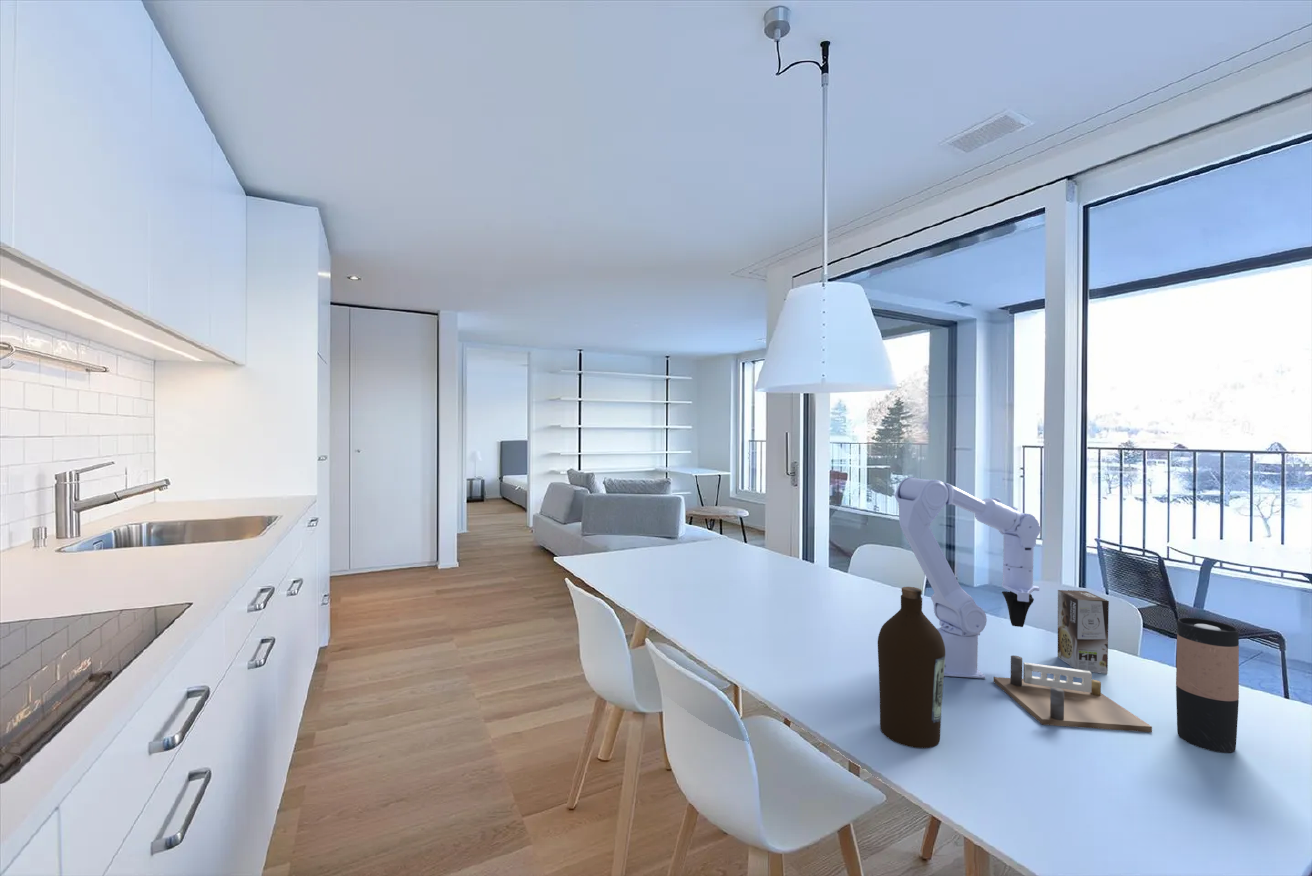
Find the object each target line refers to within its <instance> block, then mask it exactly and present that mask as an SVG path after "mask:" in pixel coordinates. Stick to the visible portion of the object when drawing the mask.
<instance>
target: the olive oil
mask: <svg viewBox="0 0 1312 876" xmlns="http://www.w3.org/2000/svg"><path fill="white" fill-rule="evenodd" d="M922 595H923V590H922V589H920V588H919V587H913V586H903V587H901V595H900V609H899V610H898V611H897V612H895V614H894V615H892V616H891V617H890V618H889V619H888V620H886V621H885V622H884V623H883V625H881V628H880V629H879V633H878V636H877V656H878V657H877V658H878V660H877V661H878V684H879V685H878V686H879V687H878V688H879V690H878V691H879V727H880V728H879V729H880V731H881V733H882V734H883V735H884V736H885V737H886V738H888V739H889V740H890V741H892V742H894V743H897V744H899V745H902V746H906V747H910V748H915V749H930V748H934V747H936V746H937V745H938V744H940V739H941V727H942V726H941V725H942V724H941V723H942V722H941V721H942V708H943V707H942V705H943V693H944V677H945V676H944V667H945V645H944V642H943V639H942V636H941V634H940V633H939V631H938V630H937V629H938V628H936V626H935V625H934V624H933V623H932V622H931V621H930V619H928V618H927V616H926V615H925V614H924V613H923V611H922V610H923V597H922Z"/></svg>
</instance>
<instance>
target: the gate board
mask: <svg viewBox="0 0 1312 876" xmlns="http://www.w3.org/2000/svg"><path fill="white" fill-rule="evenodd" d="M994 682H995V683H994ZM993 683H994V684H995V685H996V686H997V687H999V688H1000V689H1001V690H1002V691H1003V690H1004V691H1003V692H1004V693H1006V694H1007V695H1008V696H1009V697H1010V698H1011V697H1012V698H1013V701H1014V702H1016V703H1017V704H1018V705H1019V706H1020V707H1022V708H1023V710H1025V711H1026V712H1027V713H1028V714H1030V716H1032V718H1034V719H1035V720H1036V721H1038V722H1039V723H1040V724H1041V725H1042V726H1043V725H1044V726H1057V727H1071V728H1085V729H1097V730H1098V729H1099V730H1111V731H1113V730H1114V731H1130V732H1138V733H1139V732H1142V733H1153V726H1152V725H1150V724H1149V723H1147V721H1144V720H1143V719H1141V718H1140V717H1139V716H1136V715H1135V714H1134V713H1132V712H1131V711H1129V710H1128V709H1126V708H1124V707H1123V706H1121V705H1120V704H1118V703H1117V702H1115V701H1114V700H1112V699H1111V698H1110V697H1108V696H1106V695H1105V694H1103V693H1102V692H1101V691H1102V682H1101V681H1100V680H1097V679H1092V693H1090V692H1083V691H1076V690H1069V689H1062V688H1056V687H1049V686H1042V685H1035V684H1028V683H1025V682H1024V681H1023V657H1021V656H1019V655H1010V677H999V676H998V677H997V676H994V677H993ZM1078 683H1082V681H1081V682H1080V681H1078ZM1012 698H1011V699H1012Z"/></svg>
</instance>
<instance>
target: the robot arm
mask: <svg viewBox="0 0 1312 876" xmlns="http://www.w3.org/2000/svg"><path fill="white" fill-rule="evenodd" d="M894 498H895V500H896V501H897V503H898V519H899V527H900V529H901V532H902V533H903V535H904V537H905V539H906V541H907V543H908V544H909V546H910V548H911V550H912V552H913V554H914V557H915V558H916V560H917V562H918V563H919V566H920V567H921V570H922V571H923V573H924V575H925V578H926V579H927V581H928V583H929V585H930V586H931V589H932V591H933V592H934V593H933V594H931V597H930V599H931V601H932V603H933V611H934V612H933V613H934V616H935V617H936V619H938V621H939V622H938V623H939V626H940V627H938V628H936V629H937V630H938V631H939V633H940V634H941V636H942V639H943V642H944V645H945V667H944V677H958V678H972V679H973V678H974V679H986V675H985V674H984V673H983V672H982V671H980V670H979V669H978V656H979V655H978V652H979V651H978V648H979V647H978V645H979V643H978V642H979V636H981V632H983V630H984V629H985V627H986V626H987V621H988V619H987V614H986V611H985V610H984V609H983V608H982V607H981V606H979V605H978V604H977V603H976V601H975V600H974V598H973V597H972V596H971V595H970V594H969V593H968V592H966V591H965V590H964V589H963V588H962V586H961V585H960V583H959V581H958V579H957V577H956V575H955V574H954V572H953V569H952V568H951V566H950V563H949V562H948V559H947V558H946V556H945V554H944V552H943V550H942V549H941V546H940V544H939V542H938V540H937V539H936V537H935V534H934V533H933V531H932V529H931V527H930V526H931V523H933V522H934V520H935V519H936V517H937V516H938V515H939V513H940V512H941V511H942V510H943V508H944V507H945V505H946V506H947V505H948V506H949V505H952V506H955V507H958V508H961V509H963V510H966V511H968V512H970V513H973V515H974V517H975V519H976V521H978V522H980V523H981V524H984V525H987V526H988V527H991V528H993V529H995V530H997V531H998V533H1000V534H1001V535H1003V544H1002V545H1003V551H1002V553H1003V555H1002V557H1003V558H1002V560H1003V562H1002V582H1001V587H1002V588H1004V589H1005V590H1003V591H1002V592H1001V593H1002V595H1003V597H1004V601H1005V602H1006V606H1007V610H1008V615H1009V621H1010V624H1011V626H1012V627H1016V628H1019V627H1020V628H1023V627H1024V625H1025V623H1026V617H1027V614H1028V612H1029V608H1030V607H1031V605H1032V604H1033V603H1034V601H1035V599H1034V597H1033V595H1032V593H1033V592H1034V591H1035V592H1039V591H1040V587H1039V586H1038V585H1034V584H1033V583H1034V549H1035V546H1036V545H1037V538H1038V537H1039V535H1040V533H1041V530H1042V527H1041V526H1040V523H1039V521H1038V520H1037V519H1036V517H1035V516H1034V515H1033V514H1031V513H1025V512H1020V511H1019V509H1018V508H1017V507H1015V506H1008V505H1006V504H1004V503H1002V502H1001V501H1002V499H1000V498H997V497H991V498H990V497H986V498H983V499H980V498H978V497H975V496H973V495H972V494H970V493H968V492H966V491H964V490H962V489H960V488H958V487H956V486H954V485H952V484H950V483H947V482H943V481H941V480H939V479H927V478H926V479H925V478H917V477H915V476H908V477H905V478H903V479H902V480H901V481H900V482H899V484H898V486H897V489H896V491H895V494H894ZM1006 590H1008V591H1006Z"/></svg>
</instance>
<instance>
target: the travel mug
mask: <svg viewBox="0 0 1312 876" xmlns="http://www.w3.org/2000/svg"><path fill="white" fill-rule="evenodd" d="M1176 633H1177V634H1176V637H1177V639H1176V665H1175V668H1176V671H1175V694H1176V695H1175V696H1176V697H1175V698H1176V699H1175V700H1176V729H1177V736H1178V738H1180V739H1181V740H1183V741H1184V742H1186V743H1188V744H1190V745H1193V746H1195V747H1197V748H1201V749H1204V750H1207V751H1210V752H1216V753H1221V754H1223V753H1224V754H1229V753H1230V754H1231V753H1234V752H1235V751H1236V748H1237V738H1238V737H1237V734H1238V719H1239V716H1238V715H1239V702H1240V701H1239V698H1240V693H1239V692H1240V690H1239V689H1240V680H1239V679H1240V674H1239V673H1240V669H1239V667H1240V663H1239V662H1240V660H1239V659H1240V655H1239V654H1240V653H1239V651H1240V649H1239V648H1240V644H1239V643H1240V633H1239V632H1238V629H1237V628H1236V627H1235V626H1233V625H1230V624H1226V623H1224V622H1219V621H1215V620H1209V619H1205V618H1198V617H1197V618H1195V617H1180V618H1178V619H1177V631H1176Z"/></svg>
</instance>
